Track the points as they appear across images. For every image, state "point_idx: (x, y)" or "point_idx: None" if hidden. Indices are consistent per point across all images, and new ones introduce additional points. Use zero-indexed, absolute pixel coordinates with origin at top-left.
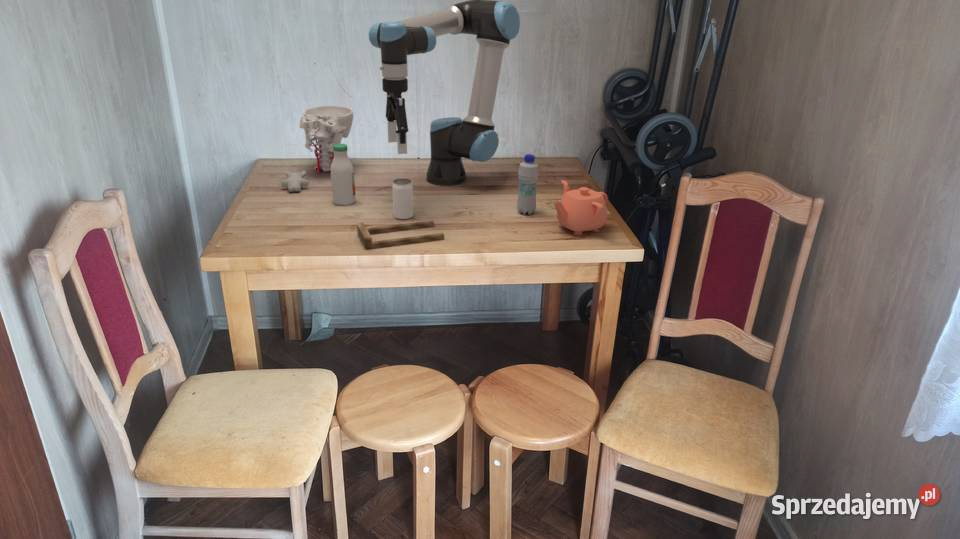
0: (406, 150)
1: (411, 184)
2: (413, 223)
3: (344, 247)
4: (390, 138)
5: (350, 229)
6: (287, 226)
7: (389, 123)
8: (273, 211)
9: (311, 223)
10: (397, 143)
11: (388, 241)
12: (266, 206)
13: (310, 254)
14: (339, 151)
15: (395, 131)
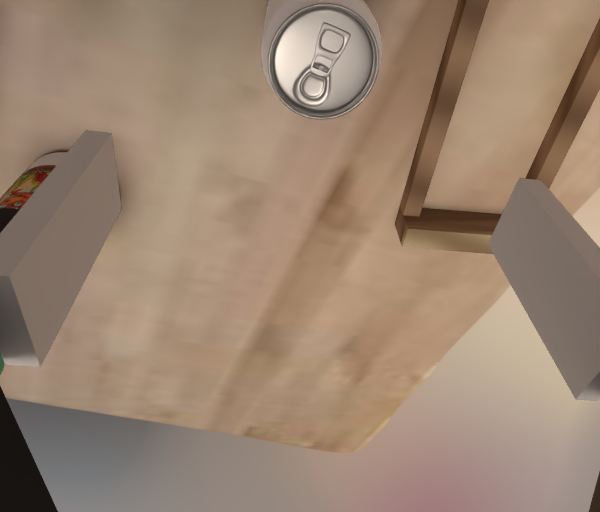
0: (551, 199)
1: (352, 4)
2: (466, 28)
3: (463, 273)
4: (107, 215)
5: (347, 232)
6: (252, 351)
7: (44, 339)
8: (130, 361)
9: (253, 306)
10: (525, 304)
11: (551, 177)
12: (86, 368)
13: (450, 338)
14: (4, 363)
15: (71, 206)
